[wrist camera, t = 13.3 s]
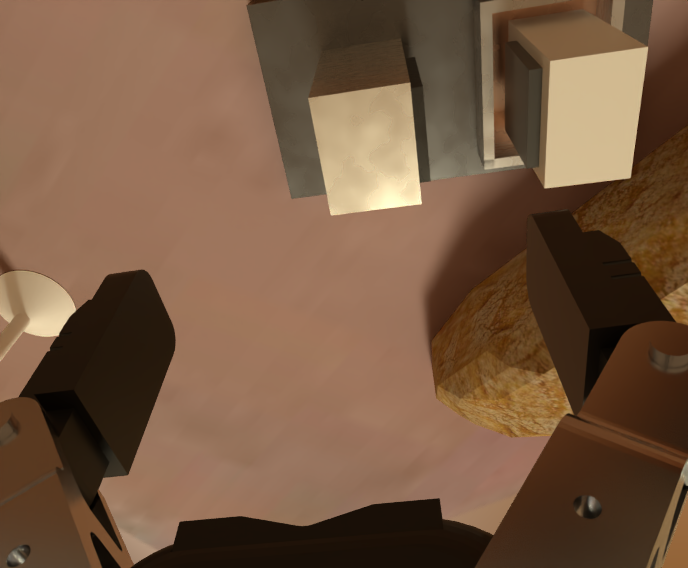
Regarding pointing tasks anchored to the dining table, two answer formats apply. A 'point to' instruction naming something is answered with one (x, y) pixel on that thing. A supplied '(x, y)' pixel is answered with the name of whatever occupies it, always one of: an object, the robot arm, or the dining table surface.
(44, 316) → the champagne flute
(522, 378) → the bread
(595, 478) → the robot arm
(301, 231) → the dining table surface
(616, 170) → the beige block
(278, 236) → the dining table surface
